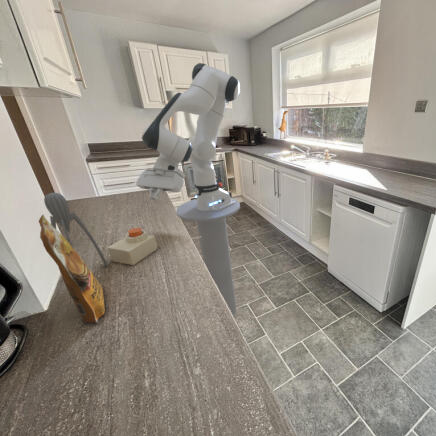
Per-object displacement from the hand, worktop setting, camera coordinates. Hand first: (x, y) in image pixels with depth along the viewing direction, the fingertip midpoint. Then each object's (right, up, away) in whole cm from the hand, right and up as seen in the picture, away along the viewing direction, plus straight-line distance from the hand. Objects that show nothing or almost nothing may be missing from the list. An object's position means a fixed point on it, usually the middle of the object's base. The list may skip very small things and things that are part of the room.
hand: (153, 198), depth 100 cm
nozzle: (-3, -15, -6) cm, 16 cm away
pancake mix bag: (-1, -34, -30) cm, 45 cm away
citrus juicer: (-12, -29, -18) cm, 36 cm away
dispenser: (-4, -23, -5) cm, 23 cm away
